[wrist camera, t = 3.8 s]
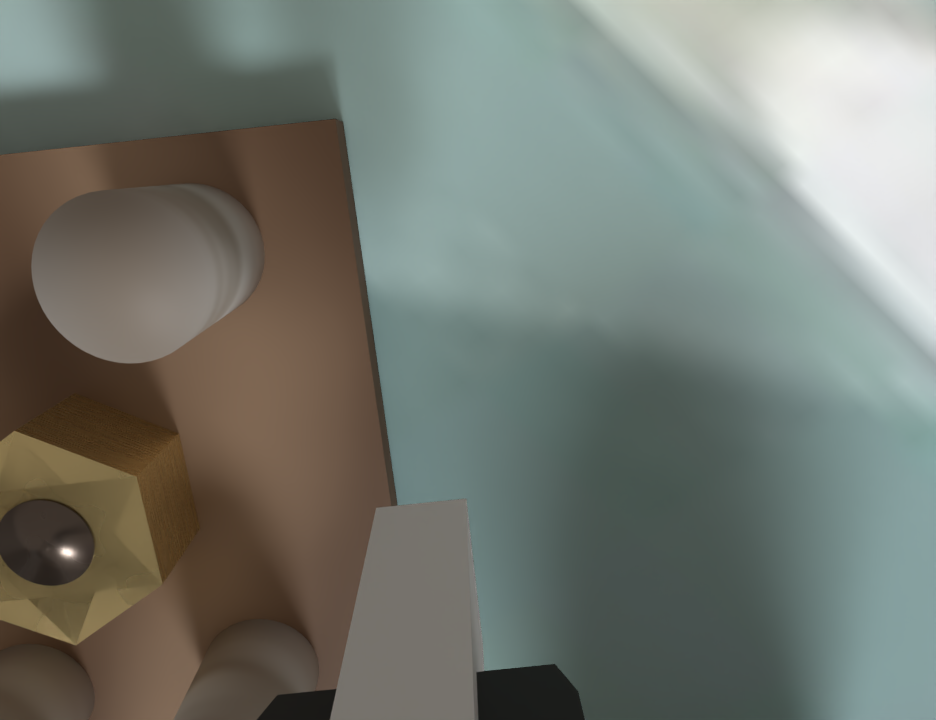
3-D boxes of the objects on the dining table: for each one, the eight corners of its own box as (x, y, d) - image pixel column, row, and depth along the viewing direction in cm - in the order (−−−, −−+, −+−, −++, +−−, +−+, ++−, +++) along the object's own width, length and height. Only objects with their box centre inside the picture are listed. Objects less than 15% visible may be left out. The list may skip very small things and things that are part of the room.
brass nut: (38, 591, 19) (-25, 657, 16) (-19, 402, 17) (-96, 443, 15) (210, 572, 19) (174, 636, 16) (167, 382, 17) (121, 420, 15)
